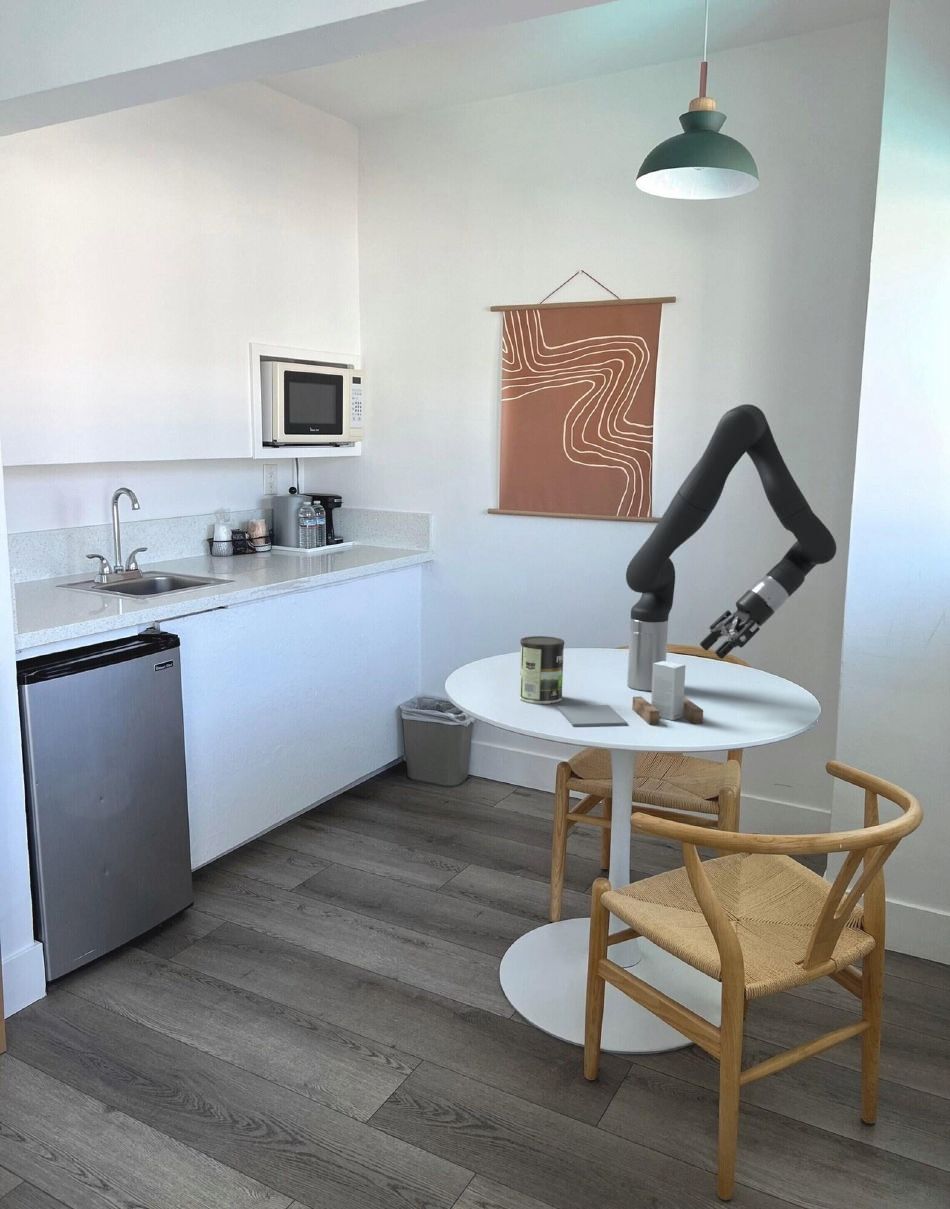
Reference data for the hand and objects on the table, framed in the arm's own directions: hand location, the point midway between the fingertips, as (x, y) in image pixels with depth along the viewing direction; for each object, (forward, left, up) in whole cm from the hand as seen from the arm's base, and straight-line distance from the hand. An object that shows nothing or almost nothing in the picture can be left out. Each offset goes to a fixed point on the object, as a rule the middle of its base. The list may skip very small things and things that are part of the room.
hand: (710, 651), depth 209 cm
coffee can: (-17, -34, -15) cm, 41 cm away
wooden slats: (0, -9, -15) cm, 17 cm away
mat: (-1, -26, -15) cm, 30 cm away
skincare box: (0, -9, -15) cm, 18 cm away
